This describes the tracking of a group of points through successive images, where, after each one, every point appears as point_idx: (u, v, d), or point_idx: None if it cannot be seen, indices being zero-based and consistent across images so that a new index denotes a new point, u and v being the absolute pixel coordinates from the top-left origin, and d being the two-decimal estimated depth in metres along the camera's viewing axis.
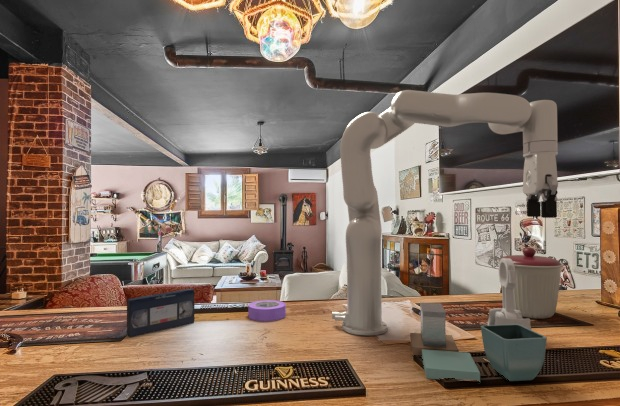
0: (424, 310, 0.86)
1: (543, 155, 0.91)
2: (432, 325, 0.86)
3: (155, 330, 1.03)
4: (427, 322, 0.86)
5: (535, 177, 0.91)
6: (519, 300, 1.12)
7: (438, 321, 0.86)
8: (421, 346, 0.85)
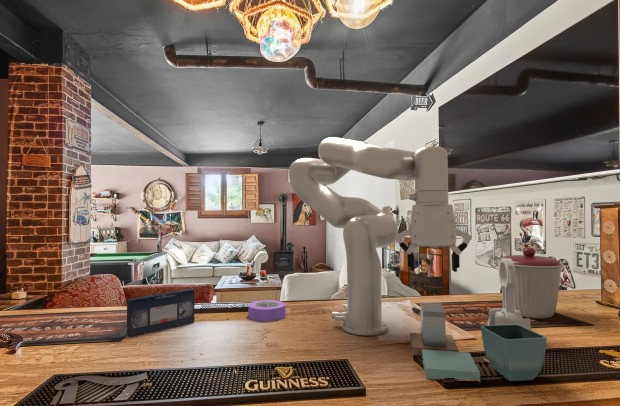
0: (424, 310, 0.86)
1: (452, 206, 0.87)
2: (432, 325, 0.86)
3: (155, 330, 1.03)
4: (427, 322, 0.86)
5: (452, 229, 0.85)
6: (519, 300, 1.12)
7: (438, 321, 0.86)
8: (421, 346, 0.85)
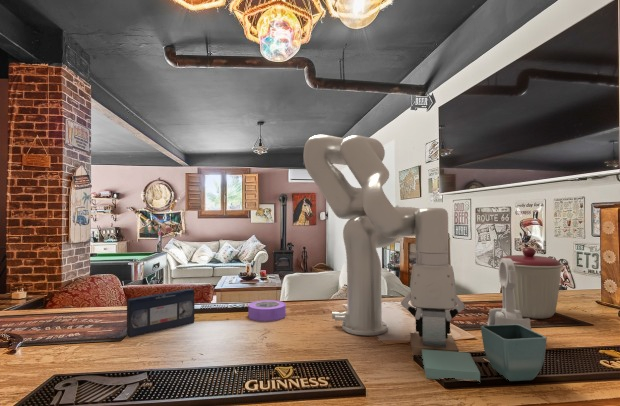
0: (424, 310, 0.86)
1: (452, 268, 0.87)
2: (432, 325, 0.86)
3: (155, 330, 1.03)
4: (427, 322, 0.86)
5: (452, 292, 0.85)
6: (519, 300, 1.12)
7: (438, 321, 0.86)
8: (421, 346, 0.85)
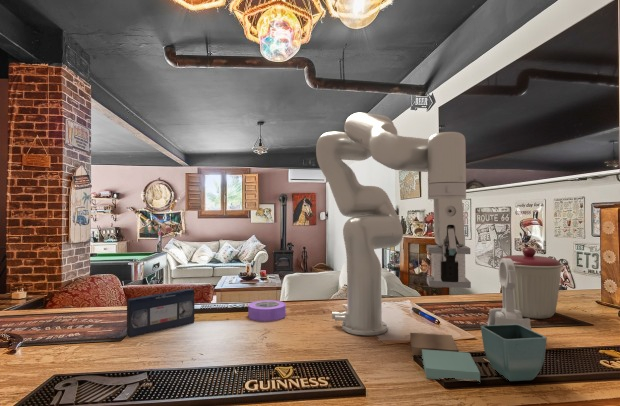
0: (465, 248, 0.75)
1: None
2: None
3: (155, 330, 1.03)
4: None
5: None
6: (519, 300, 1.12)
7: None
8: (421, 346, 0.85)
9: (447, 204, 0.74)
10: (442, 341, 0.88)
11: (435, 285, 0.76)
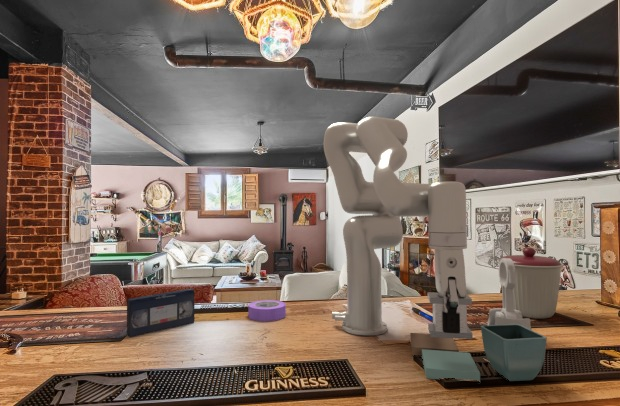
0: (467, 298, 0.75)
1: None
2: None
3: (155, 330, 1.03)
4: None
5: None
6: (519, 301, 1.12)
7: None
8: (421, 346, 0.85)
9: (448, 255, 0.73)
10: (442, 341, 0.88)
11: (437, 335, 0.76)
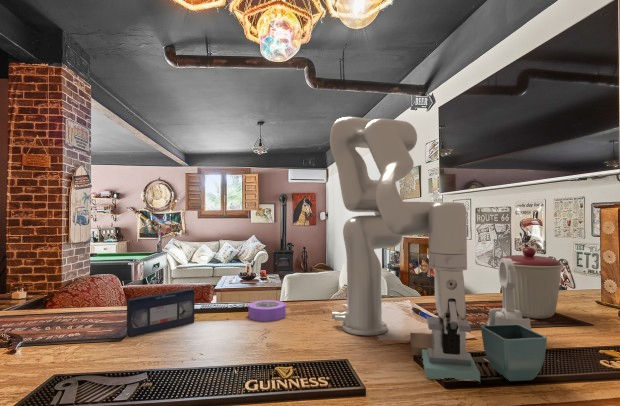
0: (466, 325, 0.75)
1: None
2: None
3: (155, 330, 1.03)
4: None
5: None
6: (519, 300, 1.12)
7: None
8: (421, 346, 0.85)
9: (448, 277, 0.73)
10: None
11: (435, 362, 0.76)
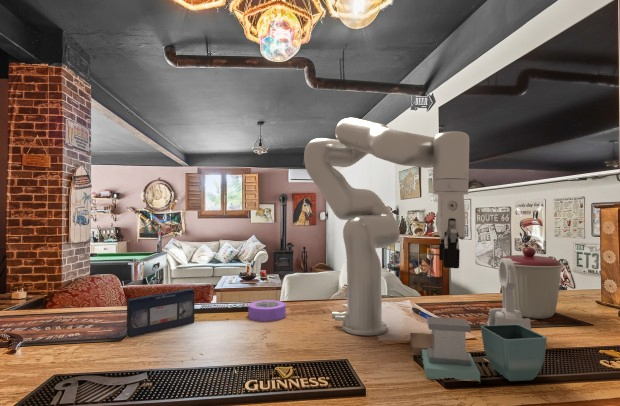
0: (466, 325, 0.75)
1: None
2: None
3: (155, 330, 1.03)
4: None
5: None
6: (519, 300, 1.12)
7: None
8: (421, 346, 0.85)
9: (449, 199, 0.79)
10: None
11: (435, 362, 0.76)
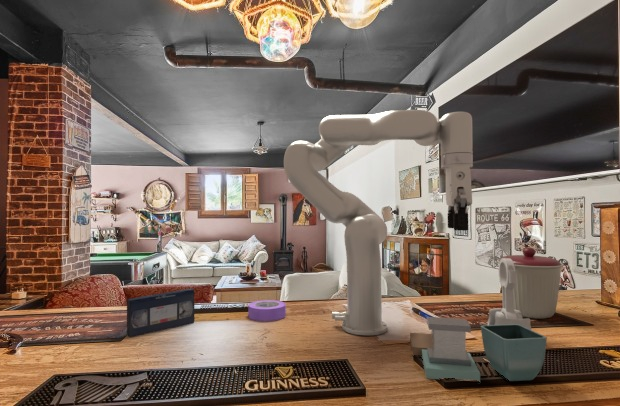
0: (466, 325, 0.75)
1: None
2: None
3: (155, 330, 1.03)
4: None
5: None
6: (519, 300, 1.12)
7: None
8: (421, 346, 0.85)
9: (457, 170, 0.90)
10: None
11: (435, 362, 0.76)
